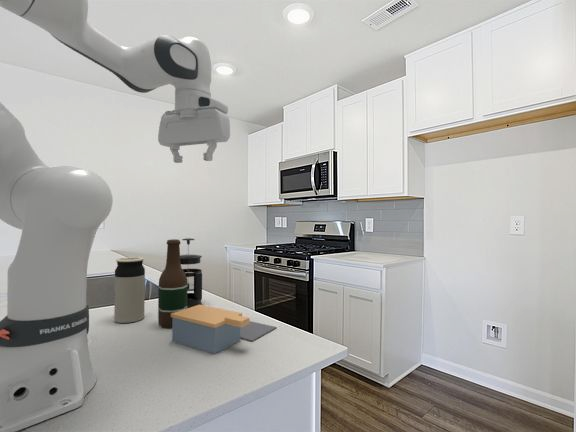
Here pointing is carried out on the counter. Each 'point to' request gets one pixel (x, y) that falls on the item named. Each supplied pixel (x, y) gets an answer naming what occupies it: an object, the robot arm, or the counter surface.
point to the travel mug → (129, 290)
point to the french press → (195, 297)
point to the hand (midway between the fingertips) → (192, 161)
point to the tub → (204, 335)
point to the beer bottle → (171, 286)
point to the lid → (211, 316)
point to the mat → (254, 331)
